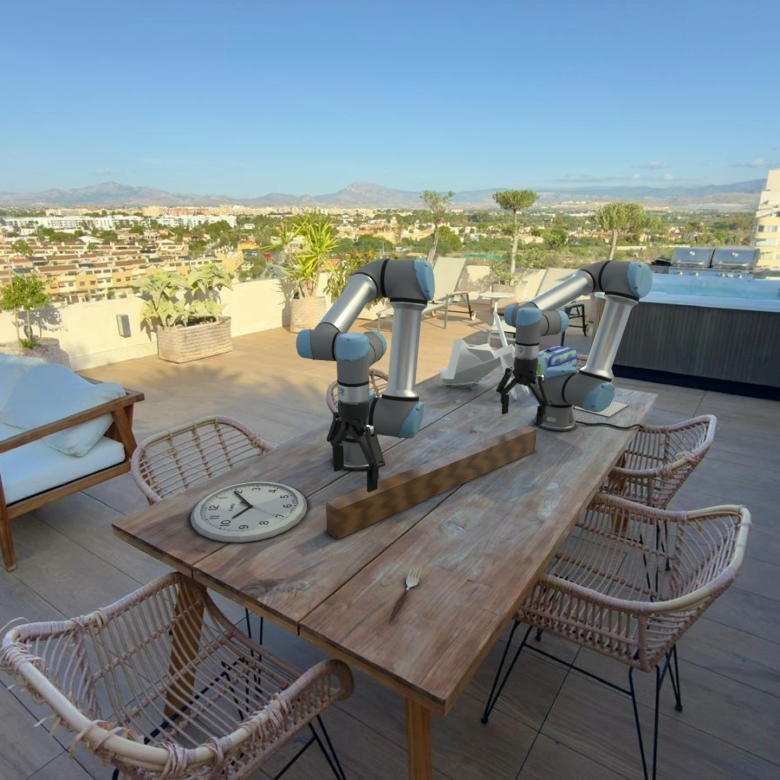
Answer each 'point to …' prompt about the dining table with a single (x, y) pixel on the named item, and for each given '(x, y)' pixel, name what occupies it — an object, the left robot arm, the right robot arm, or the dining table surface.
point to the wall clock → (248, 512)
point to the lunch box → (556, 358)
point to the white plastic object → (478, 361)
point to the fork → (410, 583)
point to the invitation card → (609, 409)
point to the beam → (425, 481)
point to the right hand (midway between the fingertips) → (521, 418)
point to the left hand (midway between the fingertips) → (354, 479)
